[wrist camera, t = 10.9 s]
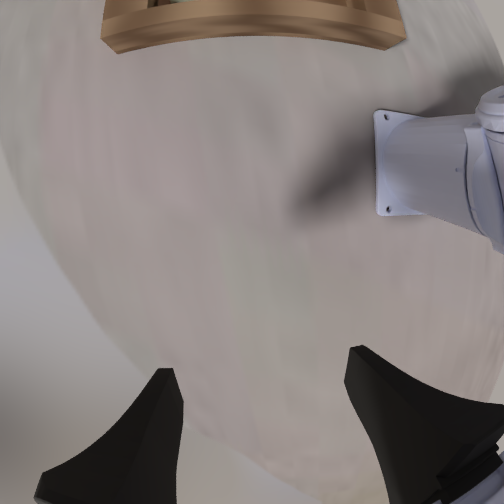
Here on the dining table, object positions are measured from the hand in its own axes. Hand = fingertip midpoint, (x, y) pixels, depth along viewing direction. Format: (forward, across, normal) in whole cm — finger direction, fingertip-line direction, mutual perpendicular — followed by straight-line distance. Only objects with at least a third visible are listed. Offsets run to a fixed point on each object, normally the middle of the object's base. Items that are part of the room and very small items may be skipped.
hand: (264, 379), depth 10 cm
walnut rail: (+10, -2, -23) cm, 25 cm away
